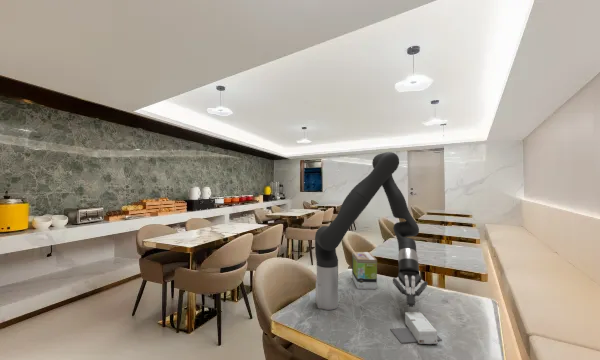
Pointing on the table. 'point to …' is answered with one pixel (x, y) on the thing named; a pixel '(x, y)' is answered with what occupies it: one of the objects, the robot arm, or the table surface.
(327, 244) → the robot arm
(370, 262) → the tea box
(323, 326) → the table surface
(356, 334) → the table surface
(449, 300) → the table surface
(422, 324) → the skincare box
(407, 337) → the mat
